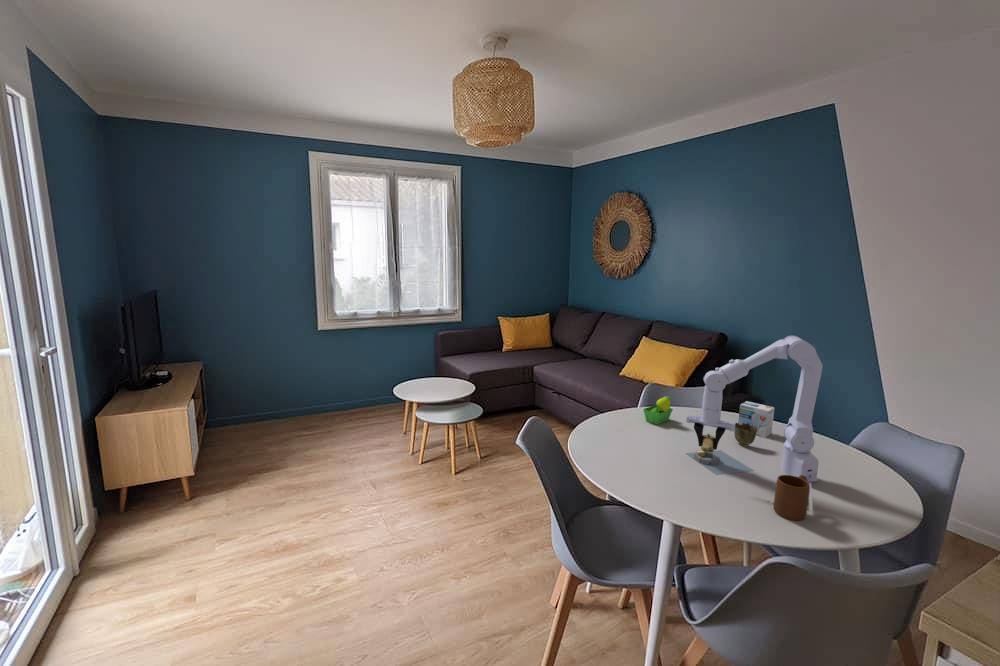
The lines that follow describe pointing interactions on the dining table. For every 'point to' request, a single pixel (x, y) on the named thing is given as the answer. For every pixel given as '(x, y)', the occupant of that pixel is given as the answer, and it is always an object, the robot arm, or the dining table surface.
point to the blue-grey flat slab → (719, 462)
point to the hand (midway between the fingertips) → (707, 446)
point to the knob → (708, 443)
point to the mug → (791, 497)
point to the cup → (745, 433)
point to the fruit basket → (659, 411)
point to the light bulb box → (757, 417)
